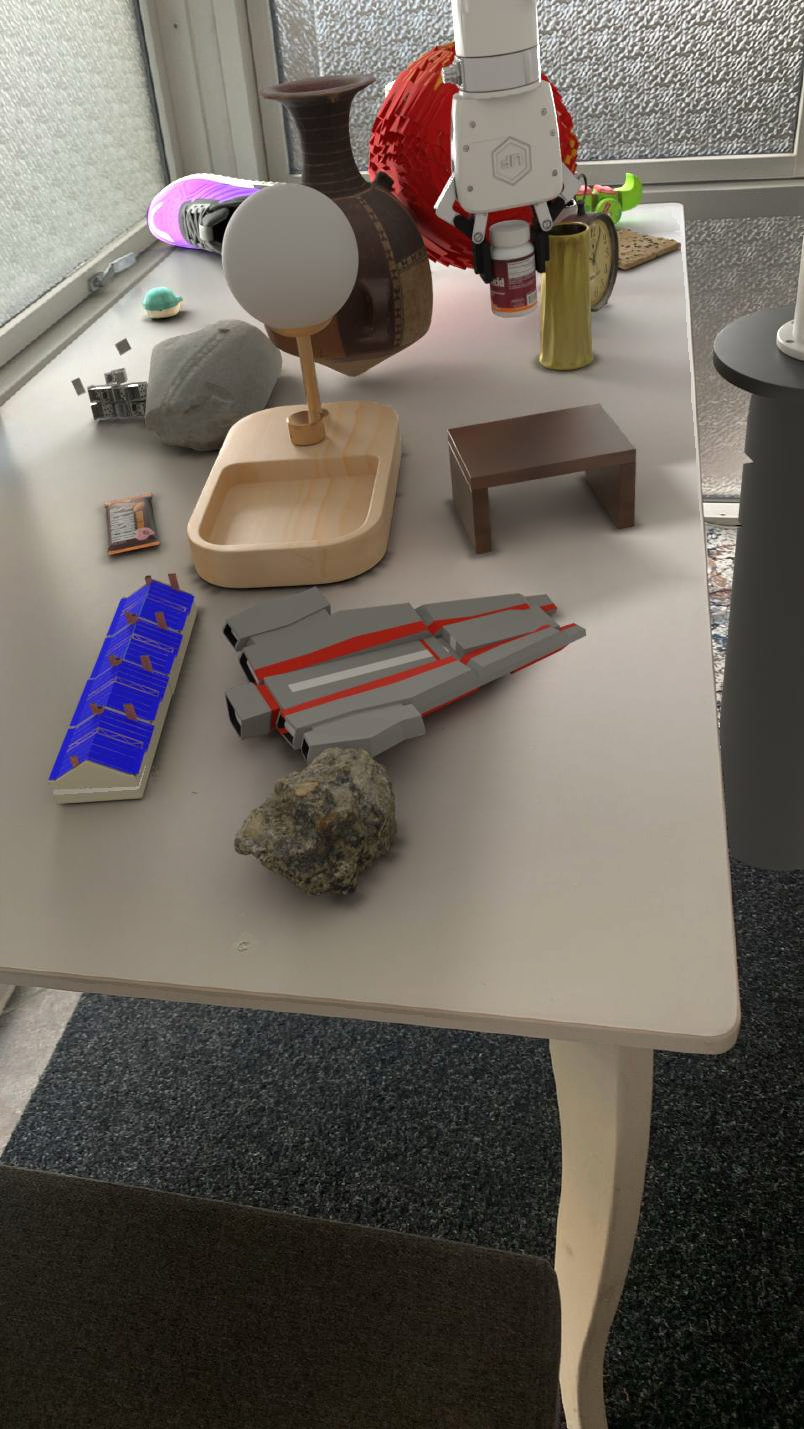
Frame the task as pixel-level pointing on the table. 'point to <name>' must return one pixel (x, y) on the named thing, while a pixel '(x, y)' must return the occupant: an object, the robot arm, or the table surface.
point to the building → (127, 695)
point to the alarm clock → (598, 250)
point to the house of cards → (116, 393)
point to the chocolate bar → (130, 524)
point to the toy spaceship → (376, 664)
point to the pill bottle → (512, 269)
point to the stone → (209, 383)
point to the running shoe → (199, 209)
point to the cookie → (641, 247)
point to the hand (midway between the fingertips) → (512, 273)
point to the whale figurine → (161, 303)
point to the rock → (324, 822)
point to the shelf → (540, 462)
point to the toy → (437, 153)
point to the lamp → (296, 417)
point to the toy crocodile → (612, 198)
